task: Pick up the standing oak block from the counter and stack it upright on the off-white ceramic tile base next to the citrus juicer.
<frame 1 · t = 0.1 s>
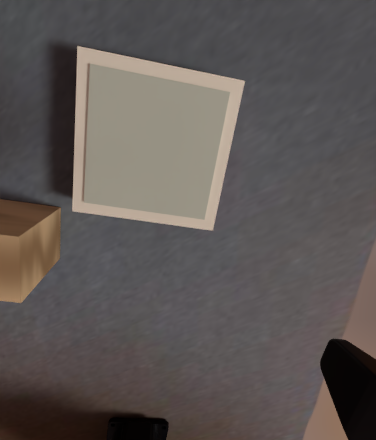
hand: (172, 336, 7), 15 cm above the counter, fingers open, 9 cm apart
tile base: (155, 147, 19), on the counter
oak block: (31, 229, 21), on the counter
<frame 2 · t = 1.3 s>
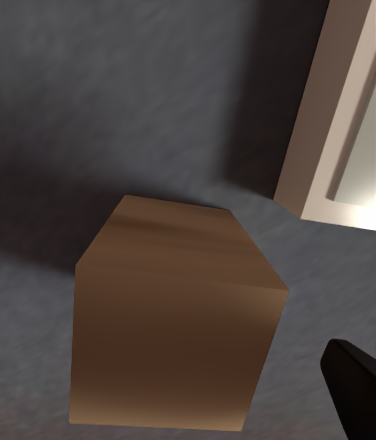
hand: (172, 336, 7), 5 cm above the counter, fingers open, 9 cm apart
oak block: (170, 249, 12), on the counter
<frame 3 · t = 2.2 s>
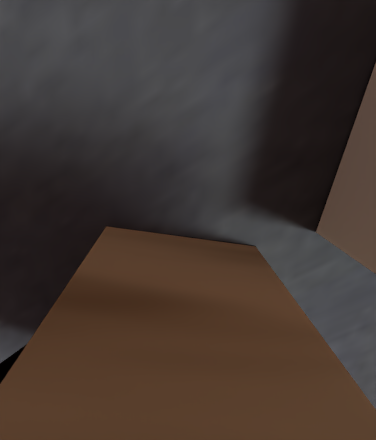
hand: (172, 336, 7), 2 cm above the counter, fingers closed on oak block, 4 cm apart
oak block: (172, 300, 8), on the counter, touching gripper
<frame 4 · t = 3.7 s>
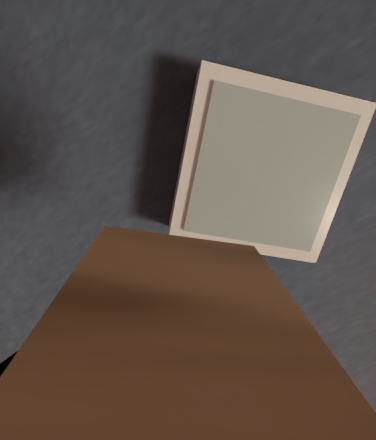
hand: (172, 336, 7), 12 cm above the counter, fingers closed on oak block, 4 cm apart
tile base: (253, 169, 18), on the counter
oak block: (170, 299, 8), point 10 cm above the counter, touching gripper
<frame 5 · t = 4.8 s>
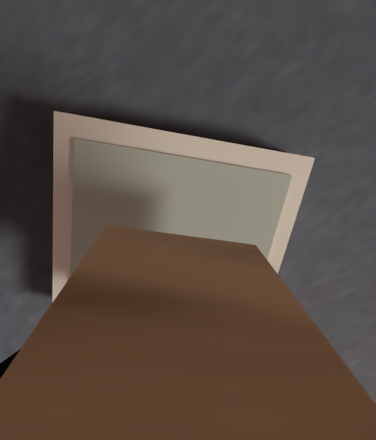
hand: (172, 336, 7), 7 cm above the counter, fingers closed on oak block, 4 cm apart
tile base: (171, 232, 14), on the counter
oak block: (172, 298, 8), point 6 cm above the counter, touching gripper
when the fingers open (5 cm above the counter, at t = 5.5 s): oak block drops 1 cm, resting on tile base.
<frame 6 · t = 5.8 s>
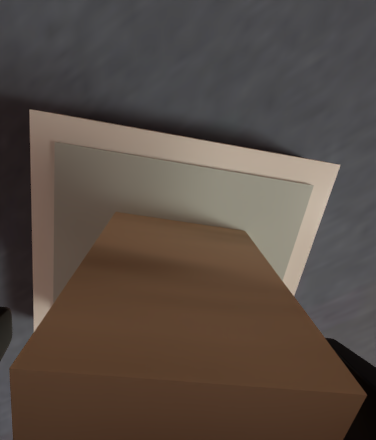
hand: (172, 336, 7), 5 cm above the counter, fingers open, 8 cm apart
tile base: (171, 247, 12), on the counter
oak block: (172, 278, 10), point 3 cm above the counter, touching tile base
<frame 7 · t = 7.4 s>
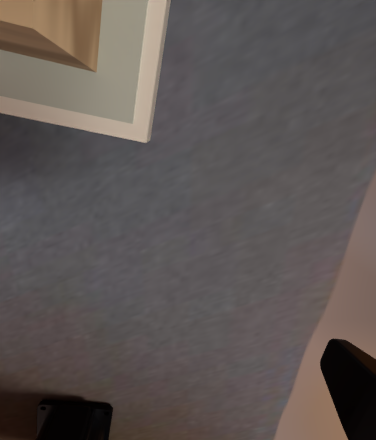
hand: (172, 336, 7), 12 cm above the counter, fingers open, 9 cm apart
tile base: (71, 26, 14), on the counter
oak block: (49, 3, 11), point 3 cm above the counter, touching tile base
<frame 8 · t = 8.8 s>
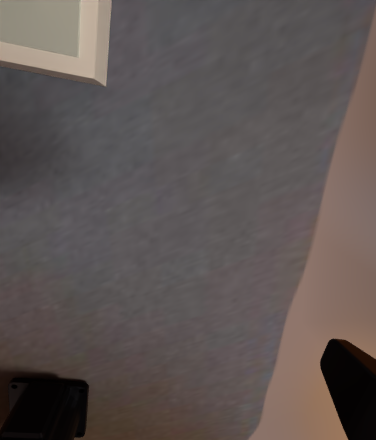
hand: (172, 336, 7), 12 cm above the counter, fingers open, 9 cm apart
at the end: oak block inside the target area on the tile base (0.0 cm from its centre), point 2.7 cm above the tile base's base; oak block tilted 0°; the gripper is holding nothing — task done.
